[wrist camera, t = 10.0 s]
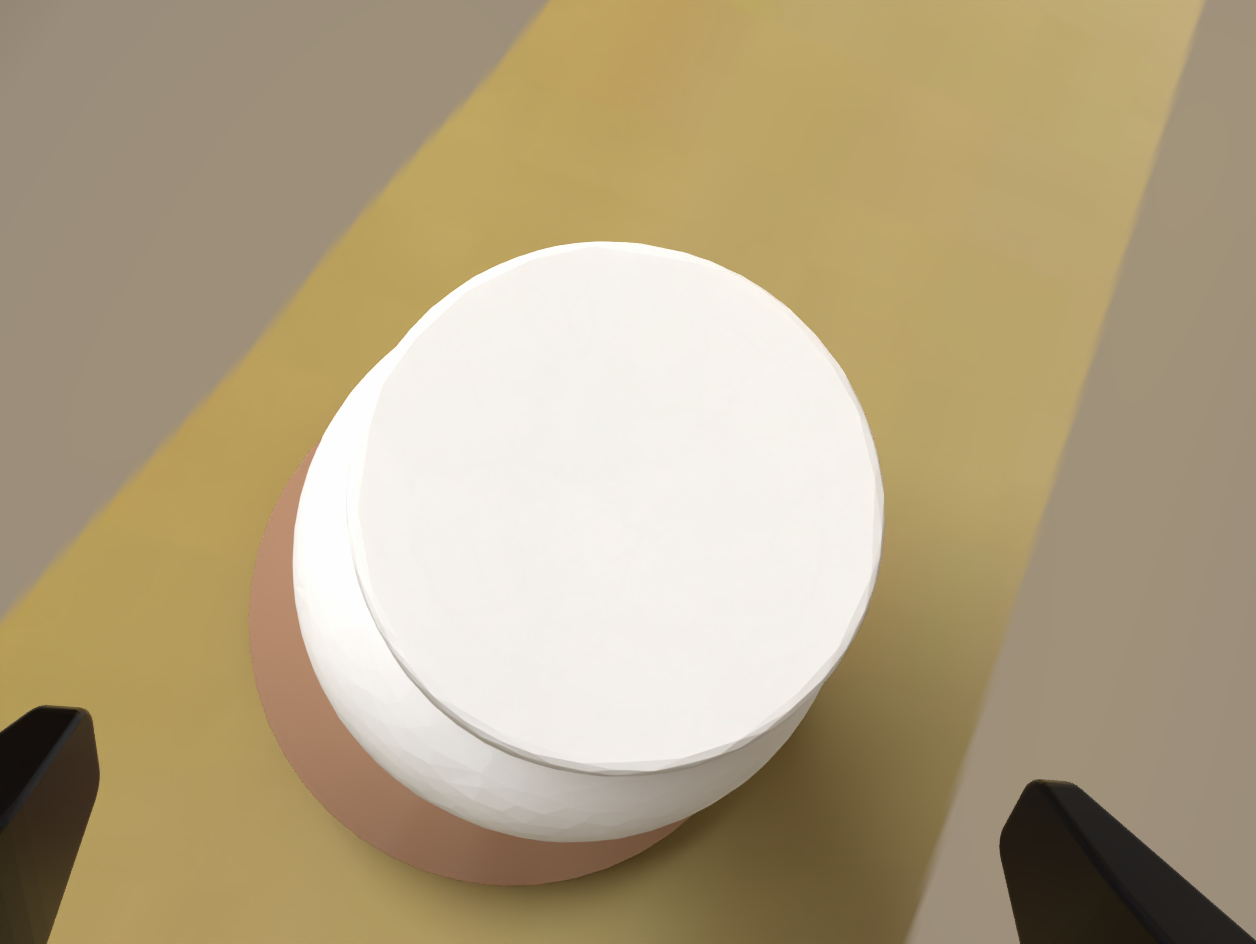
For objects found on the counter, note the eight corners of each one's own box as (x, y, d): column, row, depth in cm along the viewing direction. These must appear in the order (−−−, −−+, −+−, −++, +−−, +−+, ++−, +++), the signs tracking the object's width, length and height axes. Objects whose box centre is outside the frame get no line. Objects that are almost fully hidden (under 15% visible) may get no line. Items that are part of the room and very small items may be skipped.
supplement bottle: (470, 399, 22) (489, 0, 9) (737, 549, 22) (1102, 356, 9) (299, 679, 20) (37, 648, 7) (592, 838, 20) (807, 1065, 8)
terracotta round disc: (753, 888, 22) (770, 899, 20) (219, 861, 20) (204, 871, 19) (773, 399, 24) (789, 385, 23) (301, 341, 23) (293, 322, 21)
